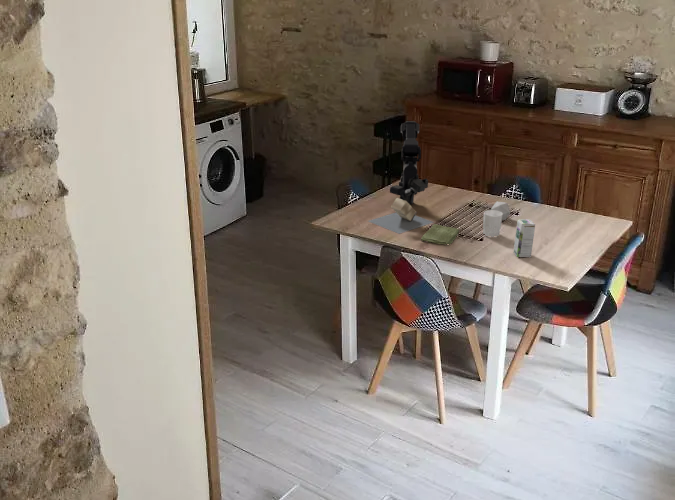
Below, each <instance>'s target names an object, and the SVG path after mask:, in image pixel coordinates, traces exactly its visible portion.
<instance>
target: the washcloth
mask: <svg viewBox="0 0 675 500" xmlns="http://www.w3.org/2000/svg"><path fill="white" fill-rule="evenodd" d="M459 233H460V229H459V228H456V227H451V226H444V225H442V224H441V225H440V224H436V223H433V224H432V225H431V227H430V228H429V229H428V230H427V231H426V232H425V233H424V234H423V235H422V236H421V238H420V241H422V242H424V241H428V242H427V243H431V242H432V244H437V245H438V244H439V245H444V244H446V246H449V245H450V244H451V243H453V242H454V241H455V239H456V238H457V237H458V235H459ZM456 236H457V237H456ZM453 240H454V241H453ZM447 244H449V245H447ZM451 245H452V244H451ZM451 245H450V246H451Z"/></svg>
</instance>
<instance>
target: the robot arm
mask: <svg viewBox="0 0 675 500" xmlns="http://www.w3.org/2000/svg"><path fill="white" fill-rule="evenodd" d="M419 133H420V124H419V123H418V122H417V121H415V120H414V121H413V120H409V121H408V120H407V121H405V122H402V123H401V125H400V134H401V135H402V136H401V137H402V139H403V145H402V146H401V162H403V164H402V165H403V166H402V167H403V169H402V170H403V171H402V173H401V174H400V176H401V177H400V178H399V179H400V180H399V181H398V184H396V185H392V186H390V188H389V193H390V194H393V195H396V196H399V199H402V200H405V201H407V202H408V203H409V204H410V206H412V205H413V204H414V200H415V199H414V198H415V196H416V195H417V194H418V193H421V192H424V191H425V189H428V188H429V180H428V179H427V178H424V179H422V178H421V179H420V178H419V173H418V167H417V165H418V162H420V160H421V158H422V148H421V146H419V141H417V138H418V134H419Z"/></svg>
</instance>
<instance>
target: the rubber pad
mask: <svg viewBox="0 0 675 500" xmlns="http://www.w3.org/2000/svg"><path fill="white" fill-rule="evenodd" d="M367 222H369V223H371V224H374V225H376V226H378V227H381V228H384V229H386V230H388V231H391V232H393V233H396V234H399V235H400V234H402V233H406V232H410V231H413V230H416V229H418V228H421V227H424V226H428V225H431V224H435V222H434V221H432V220H430V219H426V218H424V217H422V216H421V217H420V216H418V215H417V214H416V215H415V216H414V218H413V220H412V221H411V222H410V221H408V220H405V219H403V218H401V217H400V216H399V215H398V214H397V213H396V212H393V213H389V214H387V215H383V216H380V217H375V218H373V219H370V220H367Z"/></svg>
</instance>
